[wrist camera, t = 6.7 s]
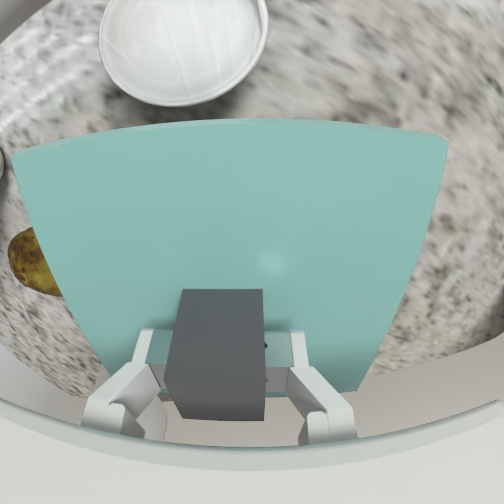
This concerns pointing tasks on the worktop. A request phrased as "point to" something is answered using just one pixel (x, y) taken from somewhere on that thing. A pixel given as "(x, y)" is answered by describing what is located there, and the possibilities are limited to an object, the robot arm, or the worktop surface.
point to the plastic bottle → (1, 164)
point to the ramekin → (181, 47)
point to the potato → (31, 264)
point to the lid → (234, 244)
